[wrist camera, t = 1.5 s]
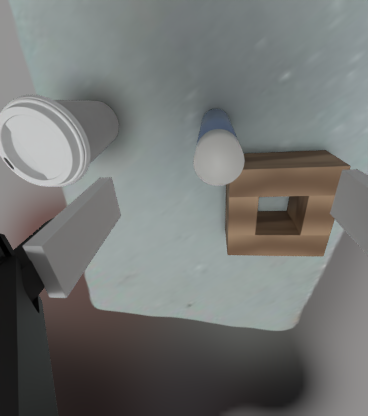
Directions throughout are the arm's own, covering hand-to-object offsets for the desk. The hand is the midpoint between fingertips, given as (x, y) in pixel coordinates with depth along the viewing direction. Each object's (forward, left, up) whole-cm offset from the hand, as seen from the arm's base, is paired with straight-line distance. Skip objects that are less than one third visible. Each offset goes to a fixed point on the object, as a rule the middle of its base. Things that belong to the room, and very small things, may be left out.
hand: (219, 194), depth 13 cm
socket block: (+12, +9, -23) cm, 28 cm away
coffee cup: (-1, -18, -24) cm, 30 cm away
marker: (0, 0, -23) cm, 23 cm away
